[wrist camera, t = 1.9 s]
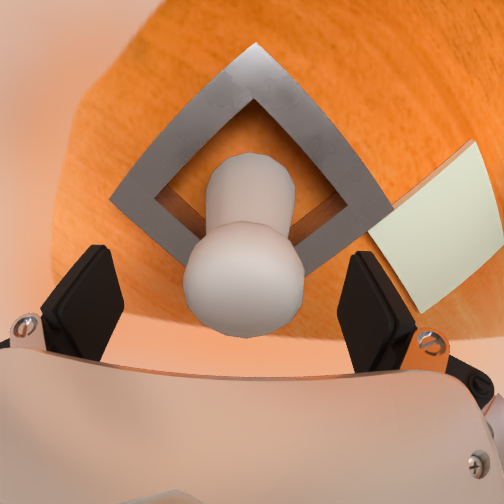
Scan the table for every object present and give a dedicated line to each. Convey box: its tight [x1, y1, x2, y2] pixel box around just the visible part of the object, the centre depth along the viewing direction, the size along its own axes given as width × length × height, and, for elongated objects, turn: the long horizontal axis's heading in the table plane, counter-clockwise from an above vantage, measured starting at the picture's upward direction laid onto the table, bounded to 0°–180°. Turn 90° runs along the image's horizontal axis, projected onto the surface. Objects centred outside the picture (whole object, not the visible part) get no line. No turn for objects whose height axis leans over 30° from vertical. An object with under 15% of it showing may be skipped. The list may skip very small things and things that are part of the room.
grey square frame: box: [109, 42, 394, 277], centre depth 19 cm, size 14×14×3 cm
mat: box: [368, 139, 504, 314], centre depth 21 cm, size 13×13×1 cm
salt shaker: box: [183, 152, 305, 338], centre depth 15 cm, size 6×6×13 cm
